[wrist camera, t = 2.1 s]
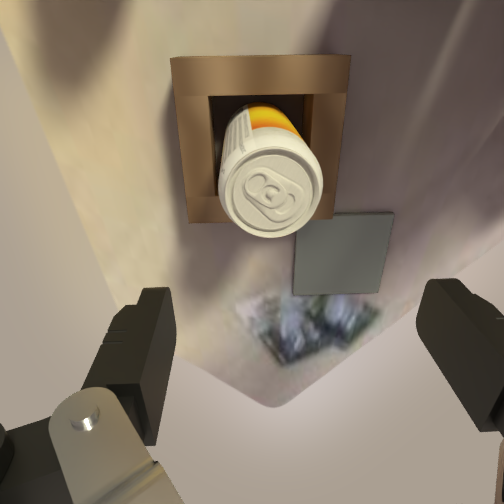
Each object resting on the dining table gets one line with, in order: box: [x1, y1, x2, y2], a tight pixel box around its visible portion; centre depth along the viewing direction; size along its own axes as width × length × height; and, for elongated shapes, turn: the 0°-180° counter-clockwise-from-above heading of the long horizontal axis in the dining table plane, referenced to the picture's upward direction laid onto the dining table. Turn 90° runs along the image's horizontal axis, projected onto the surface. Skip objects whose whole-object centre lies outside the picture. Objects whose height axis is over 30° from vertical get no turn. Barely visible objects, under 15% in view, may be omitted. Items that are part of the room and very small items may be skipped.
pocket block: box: [170, 54, 351, 223], centre depth 30 cm, size 13×13×4 cm
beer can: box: [218, 102, 323, 238], centre depth 26 cm, size 6×6×15 cm
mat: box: [293, 212, 395, 295], centre depth 39 cm, size 10×10×1 cm
